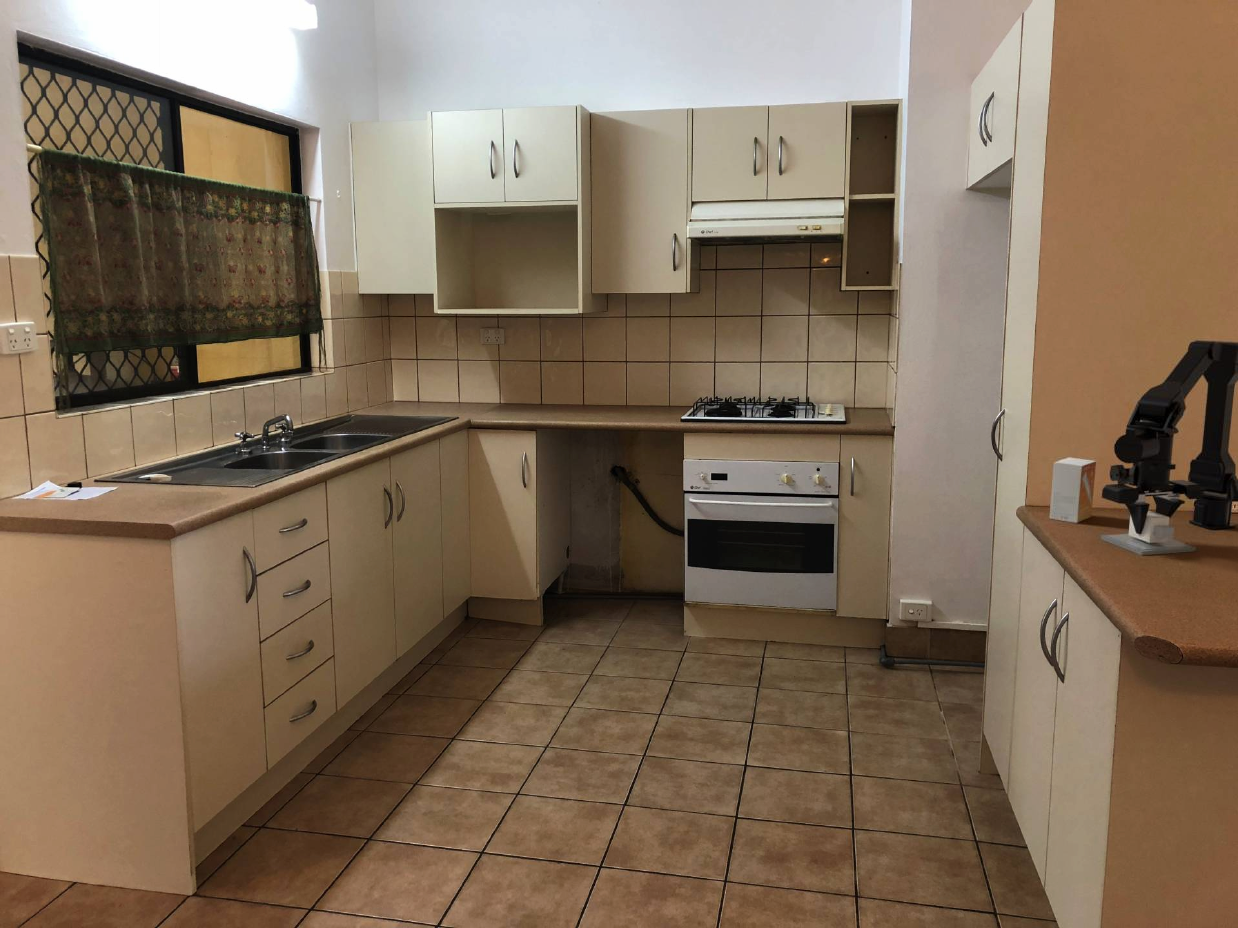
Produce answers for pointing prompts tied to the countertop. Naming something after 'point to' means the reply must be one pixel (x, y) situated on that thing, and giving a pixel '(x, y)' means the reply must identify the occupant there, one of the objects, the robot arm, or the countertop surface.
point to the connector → (1153, 528)
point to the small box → (1072, 489)
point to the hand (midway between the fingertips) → (1148, 533)
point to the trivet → (1147, 545)
